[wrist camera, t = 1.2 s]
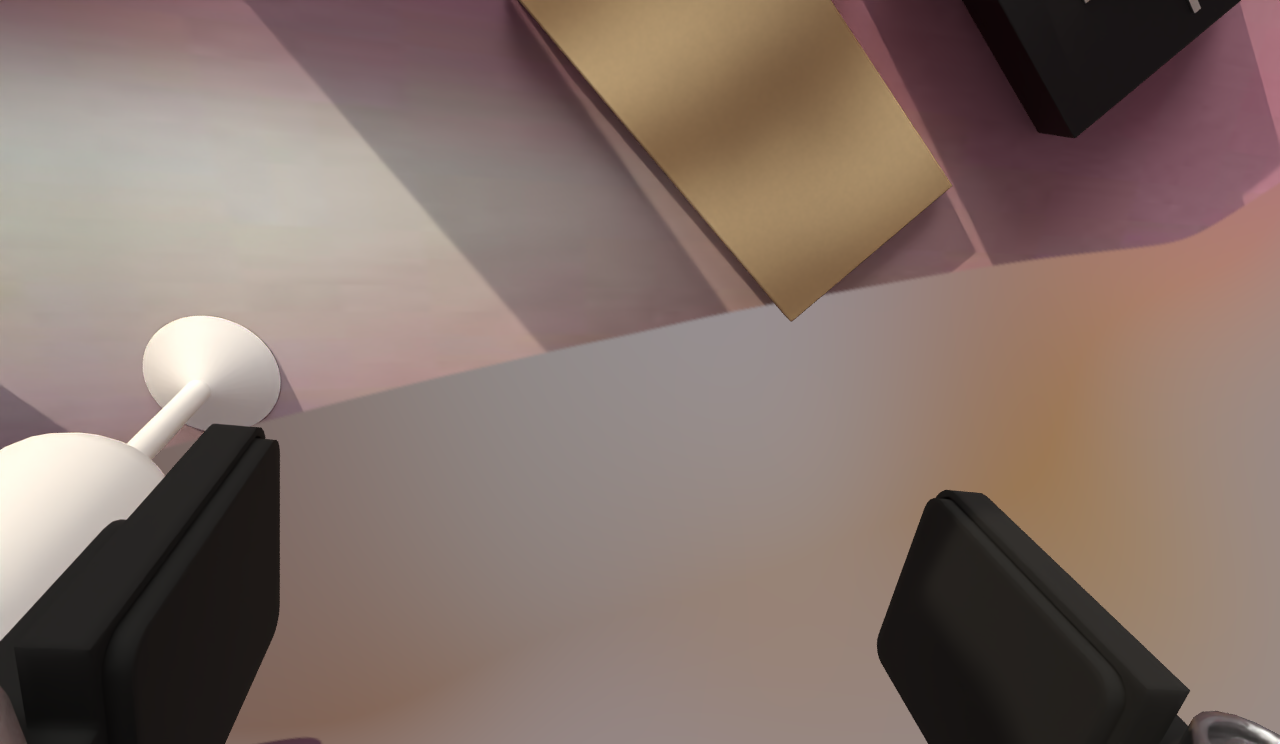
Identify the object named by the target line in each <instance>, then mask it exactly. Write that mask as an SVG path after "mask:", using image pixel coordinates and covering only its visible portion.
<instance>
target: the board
mask: <svg viewBox="0 0 1280 744" xmlns="http://www.w3.org/2000/svg"><path fill="white" fill-rule="evenodd" d="M519 2H520V3H521V4H522V5H523V6H524V8H525V9H526V10H527V11H528V12H529V13H530V15H531V16H532V17H533V18H534V19H535V21H536V22H537V23H538V24H539V25H540V26H541V28H542V29H543V30H544V31H545V32H546V34H547V35H548V36H549V37H550V38H551V39H552V41H553V42H554V43H555V44H556V45H557V47H558V48H559V49H560V50H561V51H562V52H563V54H564V55H565V56H566V57H567V58H568V60H569V61H570V62H571V63H572V64H573V65H574V67H575V68H576V69H577V70H578V71H579V73H580V74H581V75H582V76H583V77H584V79H585V80H586V81H587V82H588V83H589V84H590V86H591V87H592V88H593V89H594V90H595V92H596V93H597V94H598V95H599V96H600V97H601V99H602V100H603V101H604V102H605V103H606V105H607V106H608V107H609V108H610V109H611V110H612V112H613V113H614V114H615V115H616V116H617V118H618V119H619V120H620V121H621V122H622V123H623V125H624V126H625V127H626V128H627V129H628V131H629V132H630V133H631V134H632V135H633V137H634V138H635V139H636V140H637V141H638V142H639V144H640V145H641V146H642V147H643V148H644V150H645V151H646V152H647V153H648V154H649V155H650V157H651V158H652V159H653V160H654V161H655V163H656V164H657V165H658V166H659V167H660V168H661V170H662V171H663V172H664V173H665V174H666V176H667V177H668V178H669V179H670V180H671V181H672V183H673V184H674V185H675V186H676V187H677V189H678V190H679V191H680V192H681V193H682V194H683V196H684V197H685V198H686V199H687V200H688V202H689V203H690V204H691V205H692V206H693V208H694V209H695V210H696V211H697V212H698V213H699V215H700V216H701V217H702V218H703V219H704V221H705V222H706V223H707V224H708V225H709V226H710V228H711V229H712V230H713V231H714V232H715V234H716V235H717V236H718V237H719V238H720V239H721V241H722V242H723V243H724V244H725V245H726V247H727V248H728V249H729V250H730V251H731V252H732V254H733V255H734V256H735V257H736V258H737V260H738V261H739V262H740V263H741V264H742V265H743V267H744V268H745V269H746V270H747V271H748V273H749V274H750V275H751V276H752V277H753V279H754V280H755V281H756V282H757V283H758V284H759V286H760V287H761V288H762V289H763V290H764V292H765V293H766V294H767V295H768V296H769V297H770V299H771V300H772V301H773V302H774V303H775V305H776V306H777V307H778V308H779V309H780V310H781V312H782V313H783V314H784V315H785V316H786V317H787V318H788V319H789V320H790V321H793V320H794V319H796V318H797V317H798V316H799V315H800V314H801V313H803V312H804V311H805V310H806V309H807V308H808V307H810V306H811V305H812V304H813V303H814V302H815V301H817V300H818V299H819V298H820V297H822V296H823V295H824V294H825V293H826V292H827V291H829V290H830V289H831V288H832V287H833V286H835V285H836V284H837V283H838V282H839V281H840V280H842V279H843V278H844V277H845V276H846V275H848V274H849V273H850V272H851V271H852V270H853V269H855V268H856V267H857V266H858V265H859V264H861V263H862V262H863V261H864V260H865V259H866V258H868V257H869V256H870V255H871V254H872V253H874V252H875V251H876V250H877V249H878V248H879V247H881V246H882V245H883V244H884V243H885V242H887V241H888V240H889V239H890V238H891V237H892V236H894V235H895V234H896V233H897V232H898V231H900V230H901V229H902V228H903V227H904V226H905V225H907V224H908V223H909V222H910V221H911V220H913V219H914V218H915V217H916V216H917V215H918V214H920V213H921V212H922V211H923V210H924V209H926V208H927V207H928V206H929V205H930V204H931V203H933V202H934V201H935V200H936V199H937V198H939V197H940V196H941V195H942V194H943V193H944V192H946V191H947V190H948V189H949V188H950V187H952V185H951V183H950V181H949V180H948V178H947V177H946V175H945V174H944V172H943V171H942V169H941V168H940V166H939V165H938V163H937V162H936V160H935V159H934V157H933V156H932V154H931V152H930V151H929V149H928V148H927V146H926V145H925V143H924V142H923V140H922V139H921V137H920V136H919V134H918V133H917V131H916V130H915V128H914V127H913V125H912V124H911V122H910V120H909V119H908V117H907V116H906V114H905V113H904V111H903V110H902V108H901V107H900V105H899V104H898V102H897V101H896V99H895V98H894V96H893V95H892V93H891V91H890V90H889V88H888V87H887V85H886V84H885V82H884V81H883V79H882V78H881V76H880V75H879V73H878V72H877V70H876V69H875V67H874V66H873V64H872V62H871V61H870V59H869V58H868V56H867V55H866V53H865V52H864V50H863V49H862V47H861V46H860V44H859V43H858V41H857V40H856V38H855V37H854V35H853V34H852V32H851V30H850V29H849V27H848V26H847V24H846V23H845V21H844V20H843V18H842V17H841V15H840V14H839V12H838V11H837V9H836V8H835V6H834V5H833V3H832V1H831V0H519Z"/></svg>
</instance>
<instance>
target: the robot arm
mask: <svg viewBox="0 0 1280 744" xmlns="http://www.w3.org/2000/svg"><path fill="white" fill-rule="evenodd" d="M279 552H280V449H279V444H278V441H277V440H269V439H265V434H264V431H263V430H262V428H259V427H248V426H237V425H226V424H212V425H211V426H209V427H208V428H207V429H206V431H205V432H204V433H203V434H202V435H201V436H200V437H199V439H198V440H197V441H196V442H195V443H194V444H193V445H192V447H191V448H190V449H189V450H188V451H187V452H186V453H185V454H184V456H183V457H182V458H181V459H180V460H179V461H178V462H177V463H176V464H175V466H174V467H173V468H172V469H171V470H170V471H169V473H168V474H167V475H166V476H165V477H164V478H163V479H162V480H161V481H160V483H159V484H158V485H157V486H156V487H155V488H154V489H153V490H152V492H151V493H150V494H149V495H148V496H147V497H146V498H145V499H144V501H143V502H142V503H141V504H140V505H139V506H138V507H137V508H136V510H135V511H134V512H133V513H132V514H131V515H130V516H129V518H128V519H127V520H124V519H120V520H116V521H112V522H111V523H110V524H109V525H107V526H106V527H105V528H104V529H103V530H102V531H101V532H100V533H99V534H98V535H97V536H96V537H95V539H94V540H93V541H92V542H91V543H90V544H89V545H88V546H87V547H86V548H85V549H84V551H83V552H82V553H81V554H80V555H79V556H78V557H77V558H76V559H75V560H74V561H73V563H72V564H71V565H70V566H69V567H68V568H67V569H66V570H65V571H64V572H63V573H62V575H61V576H60V577H59V578H58V579H57V580H56V581H55V582H54V583H53V584H52V585H51V586H50V588H49V589H48V590H47V591H46V592H45V593H44V594H43V595H42V596H41V597H40V598H39V600H38V601H37V602H36V603H35V604H34V605H33V606H32V607H31V608H30V609H29V610H28V612H27V613H26V614H25V615H24V616H23V617H22V618H21V619H20V620H19V621H18V622H17V624H16V625H15V626H14V627H13V628H12V629H11V630H10V631H9V632H8V633H7V634H6V635H5V637H4V638H3V639H2V640H1V641H0V744H225V742H226V740H227V738H228V736H229V733H230V731H231V729H232V727H233V724H234V722H235V720H236V718H237V716H238V713H239V711H240V709H241V707H242V705H243V702H244V700H245V698H246V696H247V693H248V691H249V689H250V686H251V685H252V682H253V680H254V678H255V676H256V673H257V671H258V669H259V667H260V665H261V662H262V660H263V658H264V656H265V654H266V651H267V649H268V647H269V645H270V642H271V640H272V638H273V635H274V633H275V630H276V626H277V621H278V616H279V606H280V605H279V604H280V601H279V600H280V596H279V595H280V593H279V592H280V591H279V590H280V571H279V570H280V553H279ZM877 649H878V650H877V651H878V656H879V659H880V661H881V663H882V665H883V667H884V668H885V670H886V672H887V674H888V675H889V677H890V679H891V681H892V682H893V684H894V686H895V687H896V689H897V691H898V693H899V694H900V696H901V698H902V700H903V701H904V703H905V705H906V706H907V708H908V710H909V712H910V713H911V715H912V717H913V718H914V720H915V722H916V723H917V725H918V727H919V729H920V730H921V732H922V734H923V735H924V737H925V739H926V741H927V743H928V744H1280V735H1278V734H1277V733H1275V732H1273V731H1271V730H1269V729H1267V728H1265V727H1263V726H1261V725H1259V724H1257V723H1255V722H1252V721H1250V720H1247V719H1245V718H1242V717H1239V716H1237V715H1233V714H1229V713H1223V712H1219V711H1206V712H1201V713H1199V714H1198V715H1196V716H1195V717H1193V719H1192V721H1191V723H1190V724H1189V726H1187V725H1186V724H1185V722H1183V720H1182V719H1181V718H1180V717H1179V716H1177V713H1178V711H1179V709H1180V708H1181V706H1182V704H1183V702H1184V701H1185V699H1186V697H1187V695H1188V694H1189V692H1190V690H1189V689H1188V688H1187V687H1186V686H1185V685H1184V684H1183V683H1182V682H1181V681H1180V680H1179V679H1178V678H1177V677H1175V676H1174V675H1173V674H1172V673H1171V672H1170V671H1169V670H1168V669H1167V668H1166V667H1165V666H1164V665H1163V664H1162V663H1161V662H1160V661H1159V660H1158V659H1156V658H1155V656H1153V655H1152V654H1151V653H1150V652H1149V651H1148V650H1147V649H1146V648H1145V647H1144V646H1143V645H1142V644H1141V643H1140V642H1139V641H1138V640H1137V639H1136V638H1135V637H1134V636H1133V635H1131V634H1130V633H1129V632H1128V631H1127V630H1126V629H1125V628H1124V627H1123V626H1122V625H1121V624H1120V623H1119V622H1118V621H1117V620H1116V619H1115V618H1114V617H1113V616H1111V615H1110V614H1109V613H1108V612H1107V611H1106V610H1105V609H1104V608H1103V607H1102V606H1101V605H1100V604H1099V603H1098V602H1097V601H1096V600H1095V599H1094V598H1093V597H1092V596H1090V594H1088V593H1087V592H1086V591H1085V590H1084V589H1083V588H1082V587H1081V586H1080V585H1079V584H1078V583H1077V582H1076V581H1075V580H1074V579H1073V578H1072V577H1071V576H1070V575H1069V574H1068V573H1066V572H1065V571H1064V570H1063V569H1062V568H1061V567H1060V566H1059V565H1058V564H1057V563H1056V562H1055V561H1054V560H1053V559H1052V558H1051V557H1050V556H1049V555H1047V553H1046V552H1045V551H1043V550H1042V549H1041V548H1040V547H1039V546H1038V545H1037V544H1036V543H1035V542H1034V541H1033V540H1032V539H1031V538H1030V537H1029V536H1028V535H1027V534H1026V533H1025V532H1024V531H1022V530H1021V529H1020V528H1019V527H1018V526H1017V525H1016V524H1015V523H1014V522H1013V521H1012V520H1011V519H1010V518H1009V517H1008V516H1007V515H1006V514H1005V513H1004V512H1003V511H1001V509H999V508H998V507H997V506H996V505H995V504H994V503H993V502H992V501H991V500H990V499H989V498H988V497H987V496H985V495H983V494H982V493H974V492H963V491H951V490H944V491H942V492H940V493H939V494H938V495H937V497H936V498H933V499H931V500H930V501H929V502H928V503H927V504H926V506H925V508H924V511H923V514H922V517H921V519H920V522H919V525H918V528H917V530H916V533H915V536H914V539H913V542H912V544H911V547H910V550H909V552H908V555H907V558H906V561H905V563H904V566H903V569H902V572H901V574H900V577H899V580H898V583H897V585H896V588H895V591H894V594H893V596H892V599H891V602H890V605H889V608H888V610H887V613H886V616H885V619H884V621H883V624H882V627H881V629H880V633H879V635H878V639H877Z"/></svg>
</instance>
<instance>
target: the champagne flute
mask: <svg viewBox="0 0 1280 744" xmlns="http://www.w3.org/2000/svg"><path fill="white" fill-rule="evenodd" d="M143 374H144V379H145V383H146V385H147V387H148V389H149V391H150V394H151V395H152V396H153V398H154V399H155V400H156V402H157V403H158V404H159V405H160V406H161V407H162V408H163V409H162V410H161V411H159V412H158V413H157V414H156V415H155V416H154V417H153V418H152V419H151V420H150V421H149V422H148V423H147V424H146V425H145V426H144V427H143V428H142V429H141V430H140V431H139V432H138V433H137V434H136V435H135V436H134V437H133V438H132V439H131V440H130V441H129V442H128V443H127V444H126V443H124V442H121V441H118V440H115V439H111V438H108V437H104V436H101V435H95V434H88V433H48V434H43V435H38V436H32V437H29V438H27V439H24V440H21V441H19V442H16V443H14V444H11V445H9V446H6V447H4V448H3V449H1V450H0V641H1V640H2V639H3V638H4V637H5V635H6V634H7V633H8V632H9V631H10V630H11V629H12V628H13V627H14V626H15V625H16V624H17V622H18V621H19V620H20V619H21V618H22V617H23V616H24V615H25V614H26V613H27V612H28V610H29V609H30V608H31V607H32V606H33V605H34V604H35V603H36V602H37V601H38V600H39V598H40V597H41V596H42V595H43V594H44V593H45V592H46V591H47V590H48V589H49V588H50V586H51V585H52V584H53V583H54V582H55V581H56V580H57V579H58V578H59V577H60V576H61V575H62V573H63V572H64V571H65V570H66V569H67V568H68V567H69V566H70V565H71V564H72V563H73V561H74V560H75V559H76V558H77V557H78V556H79V555H80V554H81V553H82V552H83V551H84V549H85V548H86V547H87V546H88V545H89V544H90V543H91V542H92V541H93V540H94V539H95V537H96V536H97V535H98V534H99V533H100V532H101V531H102V530H103V529H104V528H105V527H106V526H107V525H109V524H110V523H111V522H112V521H116V520H120V519H124V520H127V519H128V518H129V516H130V515H131V514H132V513H133V512H134V511H135V510H136V508H137V507H138V506H139V505H140V504H141V503H142V502H143V501H144V499H145V498H146V497H147V496H148V495H149V494H150V493H151V492H152V490H153V489H154V488H155V487H156V486H157V485H158V484H159V483H160V481H161V480H162V479H163V478H164V477H165V475H164V474H163V473H162V471H161V470H160V469H159V467H158V466H157V465H156V464H155V463H154V462H153V461H152V460H153V458H154V457H155V456H156V455H157V454H158V453H159V452H160V451H161V450H162V449H163V448H164V447H165V445H166V444H167V443H168V442H169V441H170V440H171V439H172V438H173V437H174V436H175V434H176V433H177V432H178V431H179V430H180V429H181V428H182V427H183V426H184V425H185V424H187V425H189V426H191V427H194V428H197V429H201V430H204V431H206V429H207V428H208V427H209V426H211V425H212V424H226V425H237V426H248V427H250V426H253V425H255V424H256V423H258V422H259V421H261V420H262V419H264V418H265V417H266V416H267V415H268V414H269V413H270V412H271V410H272V409H273V407H274V405H275V404H276V402H277V399H278V396H279V393H280V384H281V379H280V373H279V368H278V366H277V363H276V360H275V358H274V356H273V355H272V353H271V352H270V350H269V348H268V347H267V346H266V345H265V344H264V343H263V342H262V341H261V339H260V338H259V337H257V336H256V335H255V334H253V333H252V332H251V331H249V330H248V329H246V328H244V327H243V326H241V325H239V324H237V323H235V322H232V321H229V320H226V319H223V318H218V317H212V316H191V317H185V318H181V319H178V320H175V321H173V322H170V323H168V324H167V325H165V326H164V327H162V328H161V329H159V330H158V331H157V333H156V334H155V335H154V336H153V337H152V338H151V339H150V341H149V343H148V345H147V347H146V349H145V353H144V356H143Z"/></svg>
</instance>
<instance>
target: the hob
mask: <svg viewBox="0 0 1280 744" xmlns="http://www.w3.org/2000/svg"><path fill="white" fill-rule="evenodd" d="M962 1H963V3H964V4H965V6H966V8H967V10H968V11H969V13H970V15H971V17H972V18H973V20H974V22H975V23H976V25H977V27H978V29H979V30H980V32H981V34H982V36H983V37H984V39H985V41H986V43H987V44H988V46H989V48H990V50H991V51H992V53H993V55H994V56H995V58H996V60H997V62H998V63H999V65H1000V67H1001V69H1002V70H1003V72H1004V74H1005V76H1006V77H1007V79H1008V81H1009V83H1010V84H1011V86H1012V88H1013V89H1014V91H1015V93H1016V95H1017V96H1018V98H1019V100H1020V102H1021V103H1022V105H1023V107H1024V109H1025V110H1026V112H1027V114H1028V116H1029V117H1030V119H1031V121H1032V122H1033V124H1034V126H1035V128H1036V129H1037V131H1038V132H1039V133H1044V134H1051V135H1057V136H1063V137H1070V138H1076V137H1077V136H1078V135H1080V134H1081V133H1082V132H1083V131H1084V130H1086V129H1087V128H1088V127H1089V126H1090V125H1092V124H1093V123H1094V122H1095V121H1096V120H1098V119H1099V118H1100V117H1101V116H1102V115H1104V114H1105V113H1106V112H1107V111H1109V110H1110V109H1111V108H1112V107H1113V106H1115V105H1116V104H1117V103H1118V102H1119V101H1121V100H1122V99H1123V98H1124V97H1125V96H1127V95H1128V94H1129V93H1130V92H1131V91H1133V90H1134V89H1135V88H1136V87H1137V86H1139V85H1140V84H1141V83H1142V82H1143V81H1145V80H1146V79H1147V78H1148V77H1149V76H1151V75H1152V74H1153V73H1154V72H1155V71H1157V70H1158V69H1159V68H1160V67H1161V66H1163V65H1164V64H1165V63H1166V62H1167V61H1169V60H1170V59H1171V58H1172V57H1173V56H1175V55H1176V54H1177V53H1178V52H1179V51H1181V50H1182V49H1183V48H1184V47H1185V46H1187V45H1188V44H1189V43H1190V42H1192V41H1193V40H1194V39H1195V38H1196V37H1198V36H1199V35H1200V34H1201V33H1202V32H1204V31H1205V30H1206V29H1207V28H1208V27H1210V26H1211V25H1212V24H1213V23H1214V22H1216V21H1217V20H1218V19H1219V18H1220V17H1222V16H1223V15H1224V14H1225V13H1226V12H1228V11H1229V10H1230V9H1231V8H1232V7H1234V6H1235V5H1236V4H1237V3H1238V2H1240V1H1241V0H962Z"/></svg>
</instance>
